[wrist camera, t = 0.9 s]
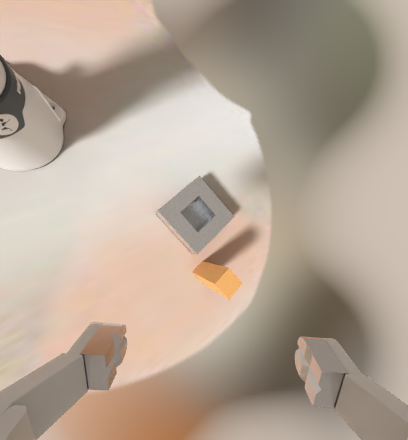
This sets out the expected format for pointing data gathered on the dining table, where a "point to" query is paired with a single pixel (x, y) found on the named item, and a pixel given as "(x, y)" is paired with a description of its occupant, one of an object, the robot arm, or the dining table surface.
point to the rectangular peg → (218, 278)
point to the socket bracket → (195, 215)
